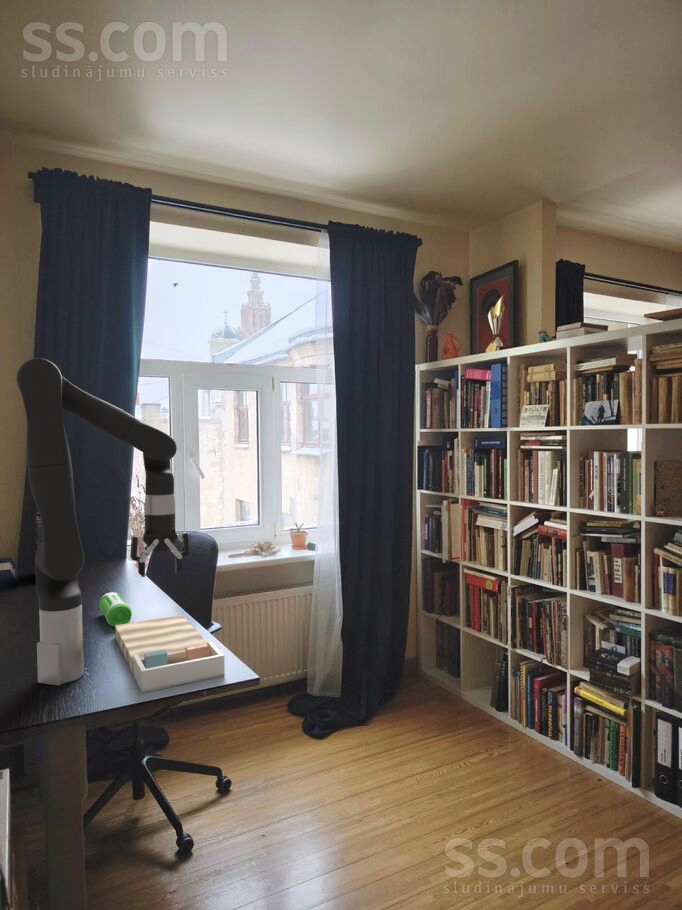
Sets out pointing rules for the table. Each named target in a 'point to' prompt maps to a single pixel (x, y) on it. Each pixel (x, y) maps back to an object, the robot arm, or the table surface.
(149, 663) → the teal tile
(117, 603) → the speaker
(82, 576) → the table surface
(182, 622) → the wooden tray board
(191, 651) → the terracotta tile
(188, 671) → the box
